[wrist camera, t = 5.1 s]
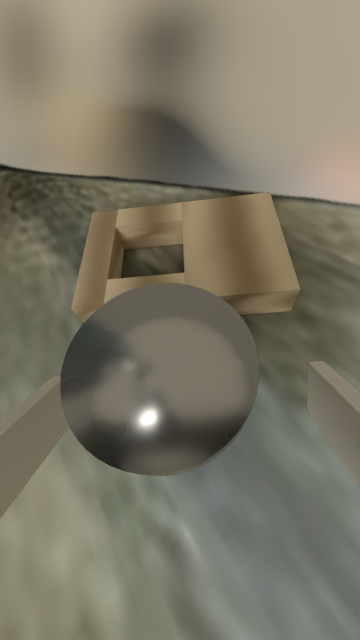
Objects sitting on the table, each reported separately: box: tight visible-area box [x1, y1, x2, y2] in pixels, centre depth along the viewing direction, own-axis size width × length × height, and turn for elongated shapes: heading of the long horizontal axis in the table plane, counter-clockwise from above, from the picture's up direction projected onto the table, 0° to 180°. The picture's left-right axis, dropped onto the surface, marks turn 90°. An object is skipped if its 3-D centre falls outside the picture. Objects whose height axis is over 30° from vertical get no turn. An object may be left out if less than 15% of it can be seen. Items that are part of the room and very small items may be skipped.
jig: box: [71, 192, 301, 323], centre depth 26 cm, size 18×12×3 cm, turn 91°
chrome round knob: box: [60, 283, 260, 476], centre depth 14 cm, size 6×6×12 cm
